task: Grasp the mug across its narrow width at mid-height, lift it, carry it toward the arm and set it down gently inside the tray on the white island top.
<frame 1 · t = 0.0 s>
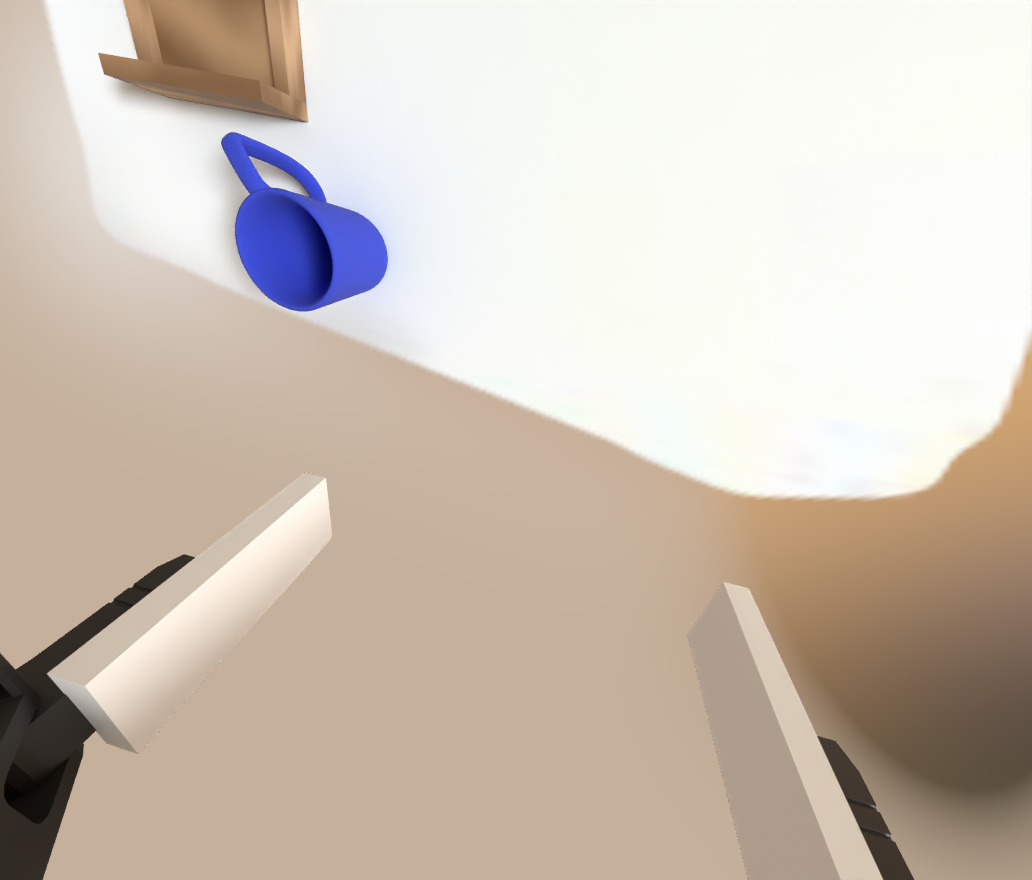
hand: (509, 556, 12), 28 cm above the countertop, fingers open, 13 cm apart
mug: (349, 231, 35), on the countertop
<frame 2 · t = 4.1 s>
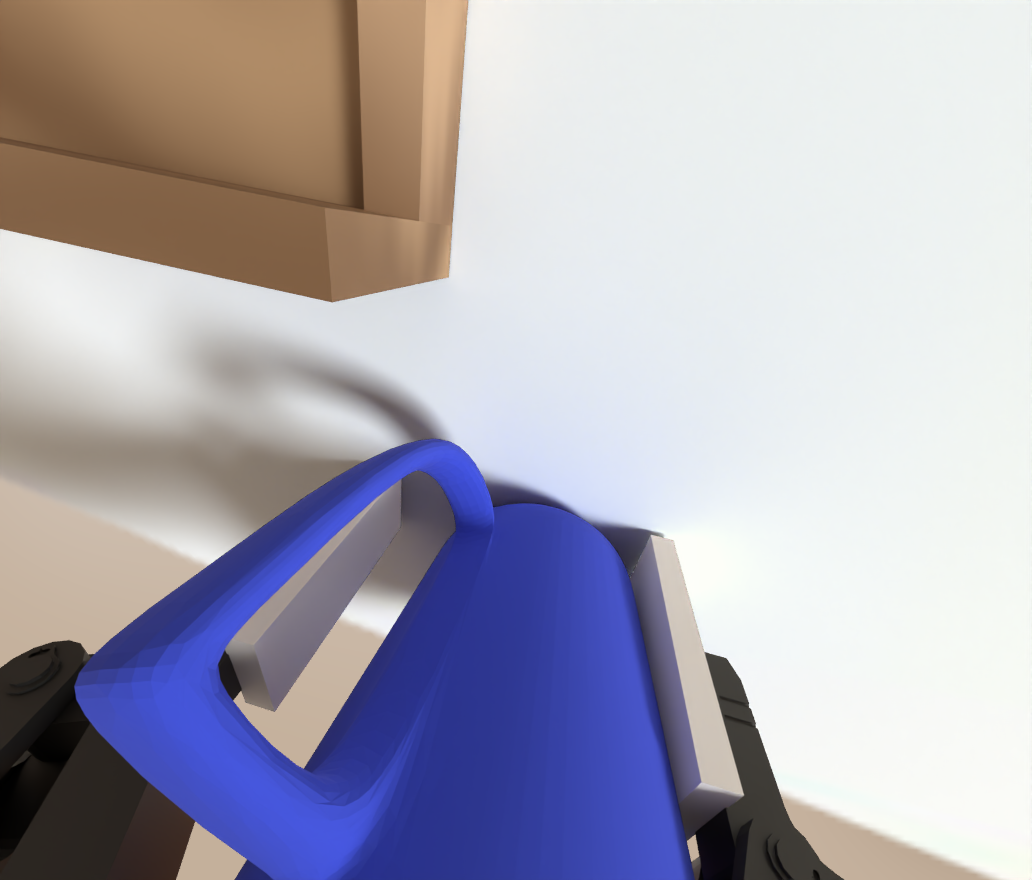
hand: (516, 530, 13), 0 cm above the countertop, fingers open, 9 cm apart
mug: (517, 519, 13), on the countertop, touching gripper
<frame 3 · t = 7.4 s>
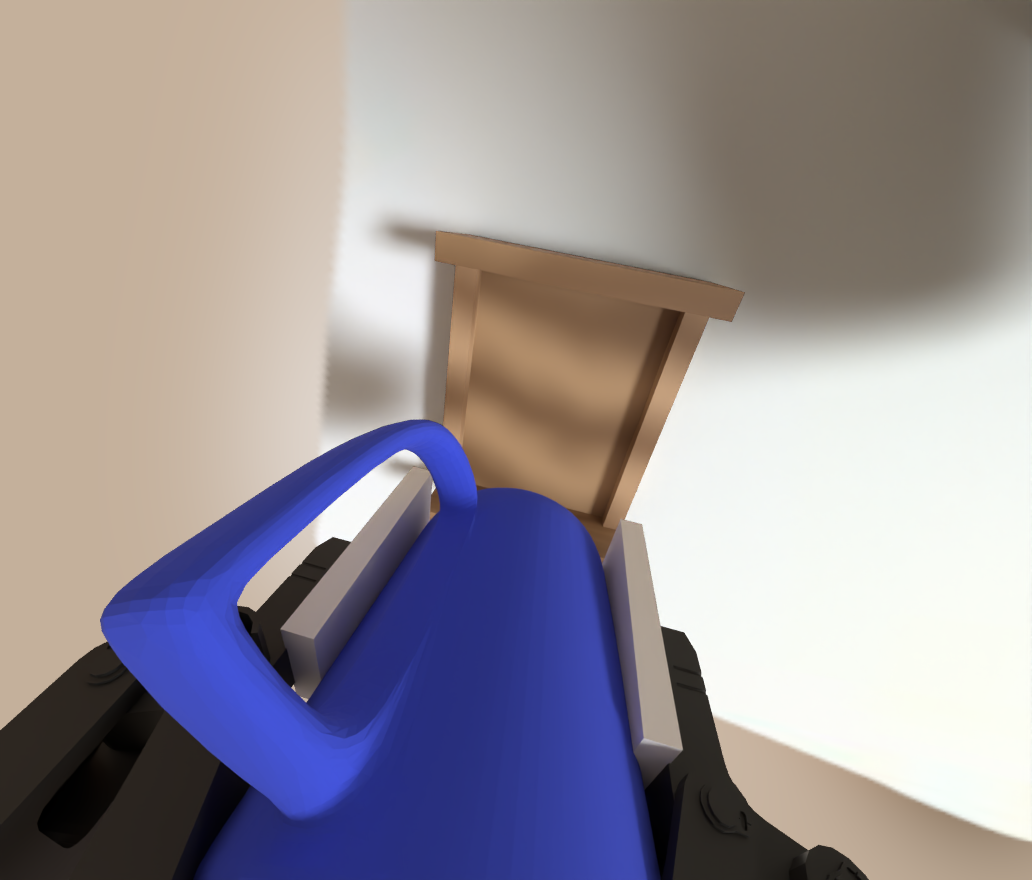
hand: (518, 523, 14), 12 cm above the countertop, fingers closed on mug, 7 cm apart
mug: (497, 504, 14), point 12 cm above the countertop, touching gripper
tray: (552, 401, 24), on the countertop
when the fingers open (2 cm above the countertop, at t = 9.8 s): mug drops 1 cm, resting on tray.
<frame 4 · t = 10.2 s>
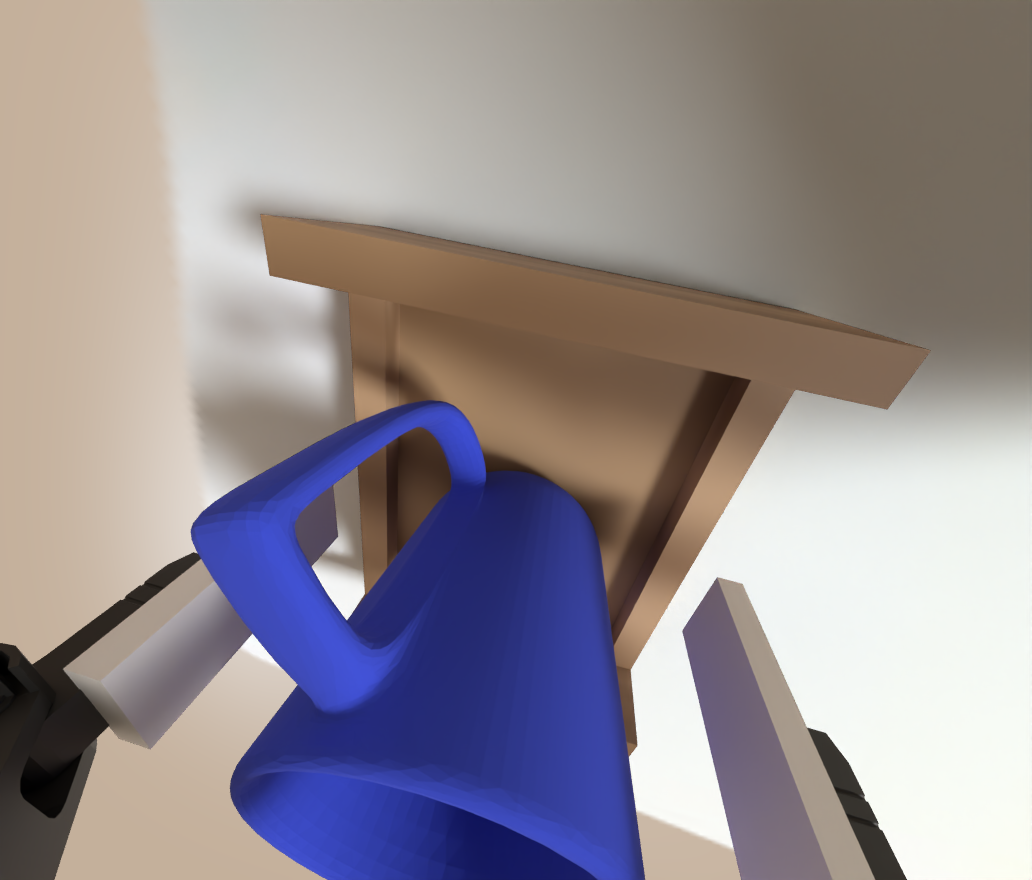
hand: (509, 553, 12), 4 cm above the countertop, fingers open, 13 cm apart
mug: (504, 487, 15), point 1 cm above the countertop, touching tray
tray: (528, 484, 16), on the countertop
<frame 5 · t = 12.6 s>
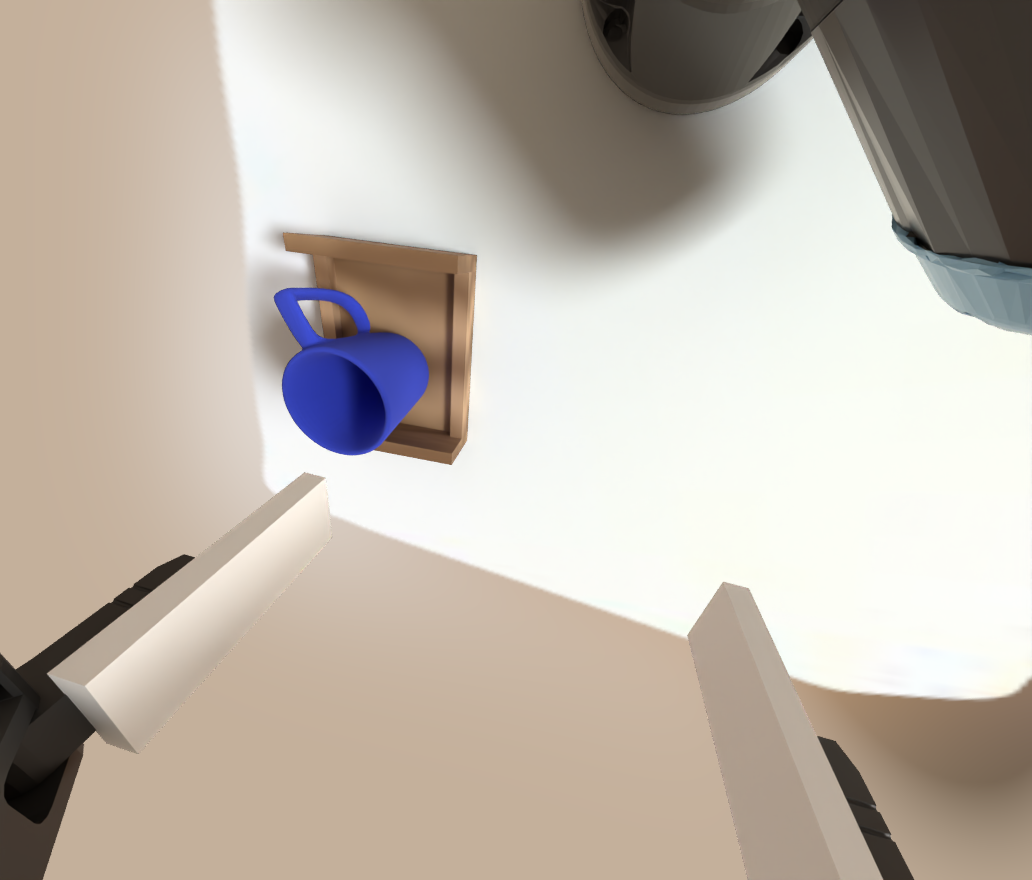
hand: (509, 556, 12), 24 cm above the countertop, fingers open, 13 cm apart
mug: (389, 347, 34), point 1 cm above the countertop, touching tray
tray: (403, 348, 35), on the countertop
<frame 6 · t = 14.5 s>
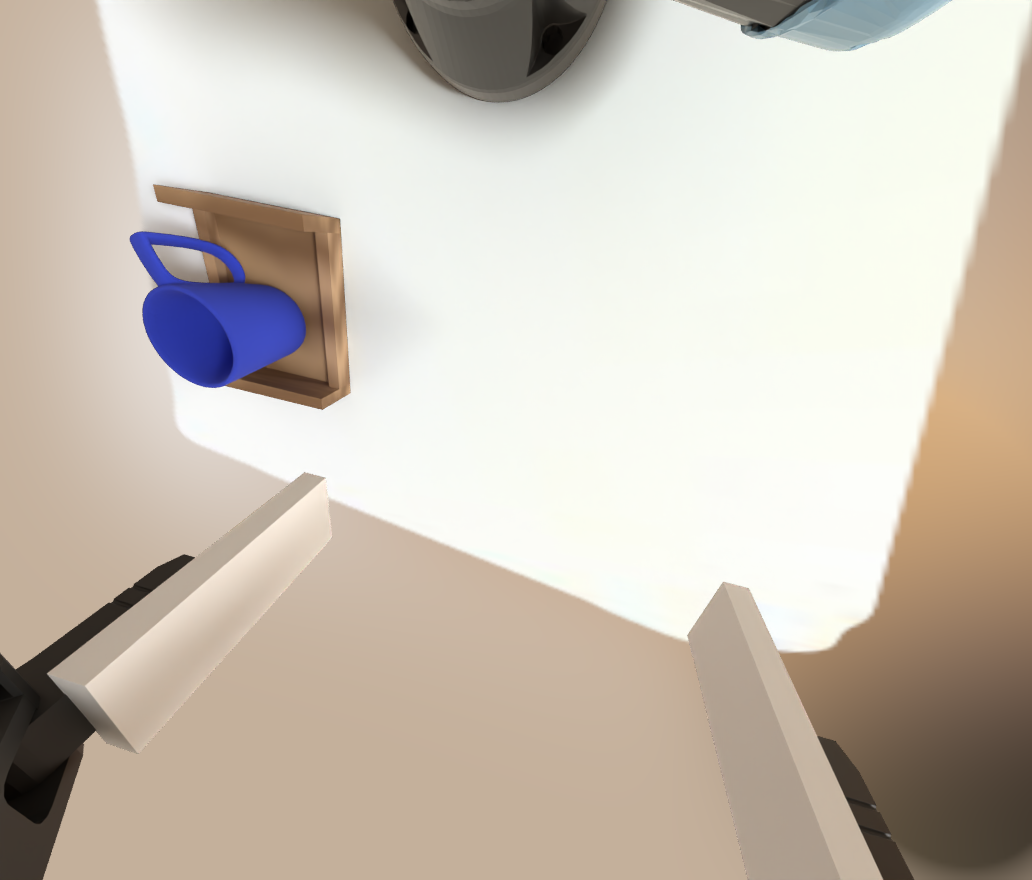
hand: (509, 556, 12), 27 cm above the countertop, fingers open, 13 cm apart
mug: (272, 300, 37), point 1 cm above the countertop, touching tray
tray: (286, 302, 38), on the countertop
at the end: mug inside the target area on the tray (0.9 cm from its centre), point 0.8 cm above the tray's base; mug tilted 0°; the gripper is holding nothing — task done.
